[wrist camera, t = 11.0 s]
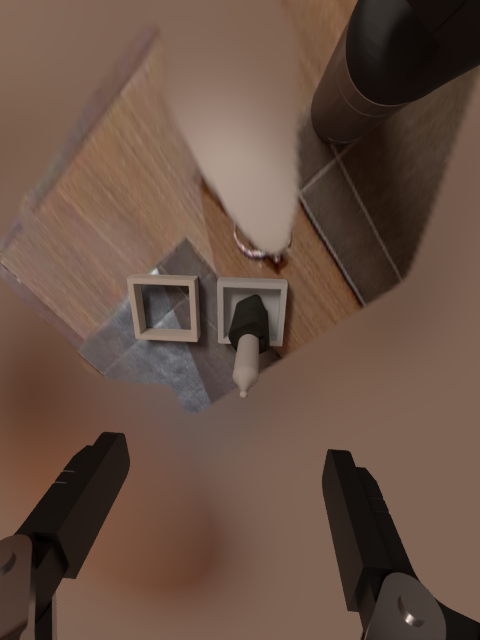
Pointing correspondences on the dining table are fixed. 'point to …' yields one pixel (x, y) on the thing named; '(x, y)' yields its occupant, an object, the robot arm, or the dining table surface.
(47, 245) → the dining table surface
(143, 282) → the grey frame
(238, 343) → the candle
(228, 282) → the grey tray
